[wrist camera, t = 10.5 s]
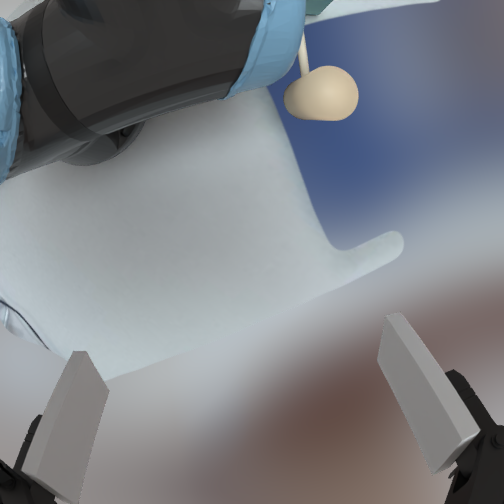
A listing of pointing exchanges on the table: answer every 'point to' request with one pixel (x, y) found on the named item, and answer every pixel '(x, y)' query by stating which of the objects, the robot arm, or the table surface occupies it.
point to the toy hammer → (320, 85)
